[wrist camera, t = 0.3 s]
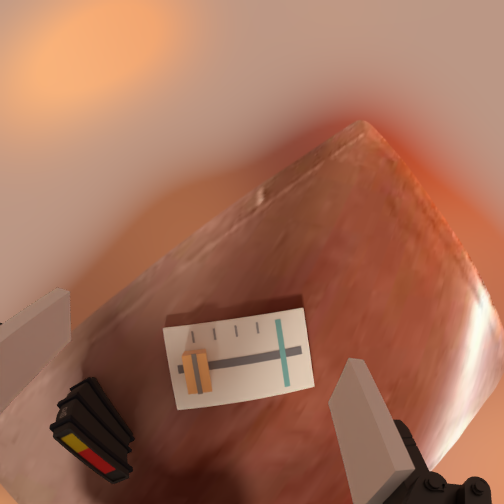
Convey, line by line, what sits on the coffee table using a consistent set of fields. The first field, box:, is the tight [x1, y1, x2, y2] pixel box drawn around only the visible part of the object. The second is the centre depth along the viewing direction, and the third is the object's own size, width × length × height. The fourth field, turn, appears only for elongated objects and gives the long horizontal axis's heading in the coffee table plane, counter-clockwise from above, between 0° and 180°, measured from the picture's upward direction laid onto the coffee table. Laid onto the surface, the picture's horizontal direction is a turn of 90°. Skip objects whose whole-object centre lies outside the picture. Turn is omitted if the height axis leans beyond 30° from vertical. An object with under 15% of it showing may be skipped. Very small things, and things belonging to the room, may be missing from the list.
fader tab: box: [182, 349, 212, 394], centre depth 38 cm, size 5×3×5 cm, turn 9°
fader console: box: [163, 308, 314, 410], centre depth 43 cm, size 12×20×2 cm, turn 99°
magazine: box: [50, 377, 135, 484], centre depth 34 cm, size 4×13×15 cm, turn 32°
